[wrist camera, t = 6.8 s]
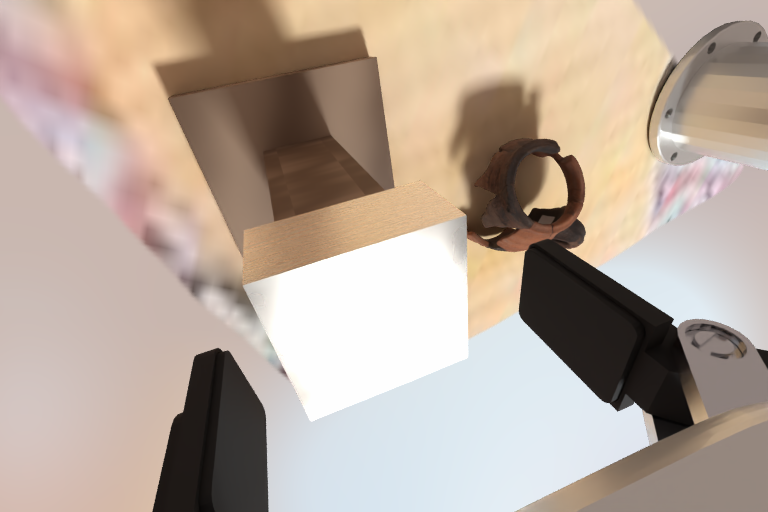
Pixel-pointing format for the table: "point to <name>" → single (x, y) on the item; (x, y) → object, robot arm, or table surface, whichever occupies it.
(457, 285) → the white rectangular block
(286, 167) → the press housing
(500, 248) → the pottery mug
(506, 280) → the table surface
